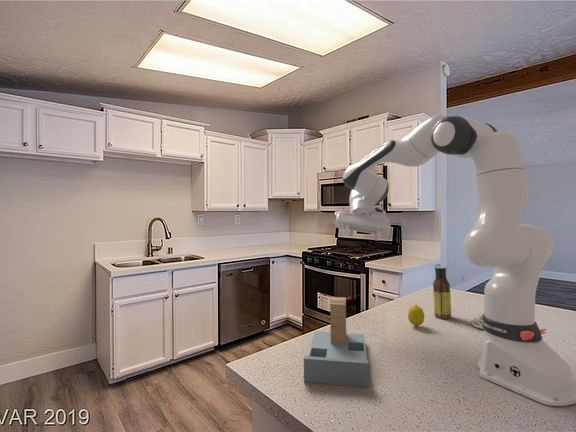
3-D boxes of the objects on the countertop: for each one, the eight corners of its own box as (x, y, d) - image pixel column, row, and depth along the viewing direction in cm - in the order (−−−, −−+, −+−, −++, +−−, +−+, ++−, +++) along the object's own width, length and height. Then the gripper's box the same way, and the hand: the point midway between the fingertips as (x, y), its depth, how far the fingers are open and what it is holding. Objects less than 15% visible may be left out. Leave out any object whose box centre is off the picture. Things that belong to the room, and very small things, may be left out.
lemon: (421, 324, 122) (421, 303, 122) (426, 329, 117) (426, 307, 116) (406, 323, 123) (406, 302, 122) (410, 329, 117) (410, 307, 117)
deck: (315, 340, 109) (314, 322, 109) (364, 343, 106) (364, 324, 106) (304, 382, 83) (303, 358, 83) (368, 387, 80) (368, 363, 80)
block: (332, 333, 107) (331, 296, 106) (346, 334, 106) (345, 297, 105) (330, 343, 99) (330, 304, 98) (345, 344, 98) (345, 304, 98)
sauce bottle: (452, 315, 131) (452, 266, 130) (450, 320, 125) (450, 269, 125) (434, 313, 134) (434, 265, 134) (431, 317, 129) (431, 267, 128)
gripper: (336, 203, 126) (336, 225, 115) (389, 211, 125) (394, 234, 114) (333, 216, 130) (333, 239, 119) (384, 224, 129) (389, 247, 118)
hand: (363, 237), depth 116 cm, fingers open, 8 cm apart
